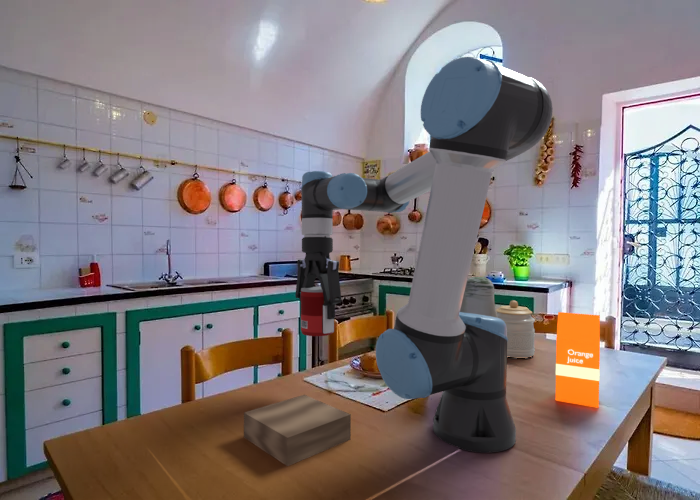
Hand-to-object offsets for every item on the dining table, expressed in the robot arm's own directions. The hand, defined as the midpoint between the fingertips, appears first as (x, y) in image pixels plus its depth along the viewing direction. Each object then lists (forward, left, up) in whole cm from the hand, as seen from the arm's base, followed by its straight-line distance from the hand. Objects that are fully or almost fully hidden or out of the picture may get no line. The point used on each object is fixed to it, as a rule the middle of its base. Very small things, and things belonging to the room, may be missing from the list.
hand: (317, 329), depth 104 cm
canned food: (0, 0, -1) cm, 1 cm away
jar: (-14, -70, -15) cm, 73 cm away
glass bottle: (-25, -30, -15) cm, 42 cm away
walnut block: (-18, +18, -15) cm, 30 cm away
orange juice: (-44, -43, -15) cm, 63 cm away
